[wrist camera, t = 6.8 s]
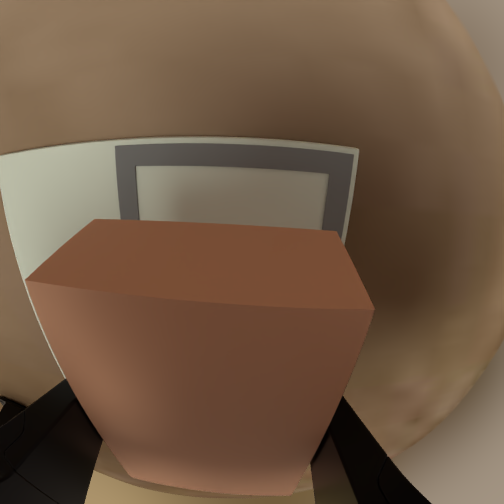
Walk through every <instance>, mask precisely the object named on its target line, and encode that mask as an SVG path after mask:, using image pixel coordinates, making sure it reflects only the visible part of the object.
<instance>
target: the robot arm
mask: <svg viewBox="0 0 504 504" xmlns="http://www.w3.org/2000/svg"><path fill="white" fill-rule="evenodd" d="M0 402H1V403H2V405H3V408H2V410H1V411H0V504H84V502H85V499H86V495H87V491H88V487H89V484H90V481H91V477H92V474H93V470H94V467H95V463H96V460H97V457H98V454H99V450H100V447H101V444H102V441H103V439H102V437H101V436H100V434H99V433H98V431H97V430H96V428H95V427H94V425H93V424H92V422H91V420H90V419H89V417H88V416H87V414H86V412H85V411H84V409H83V407H82V406H81V404H80V402H79V401H78V399H77V397H76V395H75V394H74V392H73V390H72V388H71V386H70V384H69V383H68V381H67V379H64V380H63V381H62V382H60V383H59V384H58V385H56V386H55V387H54V388H52V389H51V390H50V391H48V392H47V393H46V394H44V395H43V396H42V397H41V398H39V399H38V400H37V401H35V402H34V403H33V404H31V405H30V406H29V407H27V408H24V407H22V406H20V405H18V404H16V403H14V402H11V401H9V400H7V399H5V398H3V397H1V396H0ZM310 465H311V472H312V480H313V488H314V496H315V504H431V503H430V502H429V501H428V500H427V499H426V498H425V497H424V496H423V495H422V494H421V493H420V492H419V491H418V490H417V489H416V488H415V487H414V486H413V485H412V484H411V483H410V482H409V481H408V480H407V479H406V477H405V476H404V475H403V474H402V473H401V472H400V470H399V469H398V468H397V467H396V466H395V464H394V463H393V462H392V461H391V459H390V458H389V457H387V454H386V452H385V451H384V450H383V449H382V447H381V446H380V445H379V443H378V442H377V441H376V439H375V438H374V437H373V435H372V434H371V433H370V431H369V430H368V429H367V427H366V426H365V425H364V423H363V422H362V421H361V420H360V418H359V417H358V416H357V414H356V413H355V412H354V410H353V409H352V408H351V406H350V405H349V404H348V402H347V401H346V400H345V398H344V397H343V396H342V398H341V400H340V402H339V405H338V407H337V409H336V411H335V413H334V416H333V418H332V420H331V422H330V424H329V426H328V428H327V430H326V432H325V434H324V436H323V438H322V440H321V442H320V444H319V446H318V448H317V450H316V452H315V454H314V456H313V458H312V460H311V461H310Z"/></svg>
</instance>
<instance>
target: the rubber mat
mask: <svg viewBox="0 0 504 504" xmlns="http://www.w3.org/2000/svg"><path fill="white" fill-rule="evenodd" d="M358 156H359V149H357V148H355V147H348V146H340V145H332V144H324V143H315V142H305V141H294V140H281V139H267V138H248V137H218V136H173V137H144V138H126V139H112V140H100V141H89V142H80V143H71V144H63V145H56V146H49V147H42V148H36V149H30V150H24V151H18V152H13V153H8V154H3V155H0V188H1V194H2V200H3V205H4V210H5V215H6V220H7V224H8V228H9V233H10V237H11V241H12V245H13V248H14V252H15V256H16V259H17V262H18V266H19V269H20V272H21V275H22V279H23V282H24V285H25V288H26V290H27V293H28V296H29V299H30V302H31V304H32V307H33V310H34V312H35V315H36V317H37V320H38V322H39V324H40V327H41V329H42V332H43V334H44V336H45V338H46V341H47V343H48V345H49V347H50V349H51V346H50V344H49V342H48V340H47V337H46V335H45V333H44V330H43V328H42V326H41V323H40V321H39V318H38V316H37V313H36V311H35V308H34V305H33V303H32V300H31V297H30V294H29V291H28V289H27V286H26V283H25V279H26V278H27V277H28V276H29V275H30V274H32V273H33V272H34V271H35V270H36V269H37V268H38V267H39V266H40V265H41V264H42V263H43V262H44V261H45V260H47V259H48V258H49V257H50V256H51V255H52V254H53V253H54V252H56V251H57V250H58V249H59V248H60V247H61V246H62V245H64V244H65V243H66V242H67V241H68V240H69V239H71V238H72V237H73V236H74V235H75V234H76V233H78V232H79V231H80V230H81V229H82V228H84V227H85V226H86V225H87V224H89V223H90V222H91V221H92V220H94V219H119V220H149V221H174V222H197V223H217V224H236V225H253V226H270V227H285V228H300V229H314V230H328V231H337V233H338V235H339V237H340V239H341V241H342V243H343V245H345V240H346V234H347V229H348V223H349V217H350V211H351V205H352V199H353V192H354V186H355V179H356V171H357V164H358ZM51 352H52V354H53V356H54V358H55V360H56V362H57V364H58V366H59V368H60V370H61V372H62V374H63V376H64V377H65V375H64V373H63V371H62V369H61V367H60V365H59V363H58V361H57V359H56V357H55V355H54V353H53V351H52V349H51ZM65 379H66V377H65Z"/></svg>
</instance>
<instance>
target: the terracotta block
mask: <svg viewBox="0 0 504 504" xmlns="http://www.w3.org/2000/svg"><path fill="white" fill-rule="evenodd" d="M25 283H26V286H27V289H28V291H29V294H30V297H31V300H32V303H33V305H34V308H35V311H36V313H37V316H38V318H39V321H40V323H41V326H42V328H43V330H44V333H45V335H46V337H47V340H48V342H49V344H50V346H51V349H52V351H53V353H54V355H55V357H56V359H57V361H58V363H59V365H60V367H61V369H62V371H63V373H64V375H65V377H66V379H67V381H68V383H69V384H70V386H71V388H72V390H73V392H74V394H75V395H76V397H77V399H78V401H79V402H80V404H81V406H82V407H83V409H84V411H85V412H86V414H87V416H88V417H89V419H90V420H91V422H92V424H93V425H94V427H95V428H96V430H97V431H98V433H99V434H100V436H101V437H102V439H103V440H104V442H105V443H106V444H107V446H108V447H109V449H110V450H111V451H112V453H113V454H114V456H115V457H116V458H117V460H118V461H119V462H120V464H121V465H122V466H123V468H124V469H125V470H126V471H127V473H128V474H129V475H130V476H131V477H132V478H136V479H140V480H144V481H148V482H153V483H158V484H163V485H168V486H173V487H179V488H185V489H192V490H199V491H207V492H216V493H226V494H239V495H261V496H291V495H292V493H293V491H294V490H295V488H296V486H297V485H298V483H299V481H300V479H301V478H302V476H303V474H304V472H305V471H306V469H307V467H308V465H309V463H310V461H311V460H312V458H313V456H314V454H315V452H316V450H317V448H318V446H319V444H320V442H321V440H322V438H323V436H324V434H325V432H326V430H327V428H328V426H329V424H330V422H331V420H332V418H333V416H334V413H335V411H336V409H337V407H338V405H339V402H340V400H341V398H342V395H343V393H344V391H345V388H346V386H347V384H348V381H349V379H350V377H351V374H352V372H353V369H354V367H355V364H356V361H357V359H358V356H359V354H360V351H361V348H362V346H363V343H364V340H365V337H366V335H367V332H368V329H369V326H370V323H371V320H372V317H373V314H374V311H375V308H374V306H373V304H372V302H371V300H370V298H369V295H368V293H367V291H366V289H365V287H364V285H363V283H362V281H361V279H360V277H359V275H358V272H357V270H356V268H355V266H354V264H353V262H352V260H351V258H350V256H349V254H348V252H347V250H346V248H345V247H344V245H343V243H342V241H341V239H340V237H339V235H338V233H337V231H328V230H314V229H300V228H285V227H270V226H253V225H236V224H217V223H197V222H174V221H149V220H119V219H94V220H92V221H91V222H90V223H89V224H87V225H86V226H85V227H84V228H82V229H81V230H80V231H79V232H78V233H76V234H75V235H74V236H73V237H72V238H71V239H69V240H68V241H67V242H66V243H65V244H64V245H62V246H61V247H60V248H59V249H58V250H57V251H56V252H54V253H53V254H52V255H51V256H50V257H49V258H48V259H47V260H45V261H44V262H43V263H42V264H41V265H40V266H39V267H38V268H37V269H36V270H35V271H34V272H33V273H32V274H30V275H29V276H28V277H27V278H26V279H25Z"/></svg>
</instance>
